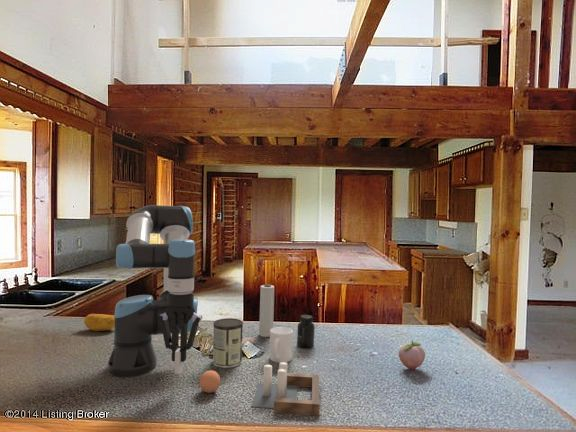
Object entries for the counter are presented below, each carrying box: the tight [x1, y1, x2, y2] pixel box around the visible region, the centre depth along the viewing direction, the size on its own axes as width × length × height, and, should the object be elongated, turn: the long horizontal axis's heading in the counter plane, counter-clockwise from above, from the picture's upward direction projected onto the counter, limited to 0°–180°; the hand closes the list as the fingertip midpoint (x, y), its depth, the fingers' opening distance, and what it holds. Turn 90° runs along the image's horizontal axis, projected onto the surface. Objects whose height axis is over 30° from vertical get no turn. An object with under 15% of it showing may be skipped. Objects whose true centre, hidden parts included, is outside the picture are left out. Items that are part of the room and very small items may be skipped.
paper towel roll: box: [258, 284, 275, 338], centre depth 162 cm, size 7×6×21 cm
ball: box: [199, 370, 221, 394], centre depth 110 cm, size 6×6×6 cm
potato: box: [83, 313, 115, 332], centre depth 161 cm, size 7×14×7 cm, turn 84°
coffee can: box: [212, 317, 244, 369], centre depth 132 cm, size 10×10×14 cm
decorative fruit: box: [398, 340, 426, 371], centre depth 130 cm, size 9×8×10 cm
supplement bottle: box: [296, 314, 316, 350], centre depth 150 cm, size 7×7×12 cm
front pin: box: [262, 364, 273, 397], centre depth 109 cm, size 2×2×8 cm
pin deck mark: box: [250, 382, 298, 410], centre depth 109 cm, size 12×14×1 cm
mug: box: [269, 326, 294, 364], centre depth 135 cm, size 12×8×10 cm
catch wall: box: [273, 372, 321, 417], centre depth 108 cm, size 12×18×3 cm, turn 176°
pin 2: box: [276, 368, 286, 398], centre depth 106 cm, size 2×2×8 cm
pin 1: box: [278, 362, 288, 392], centre depth 111 cm, size 2×2×8 cm
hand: (178, 372), depth 110 cm, fingers closed
